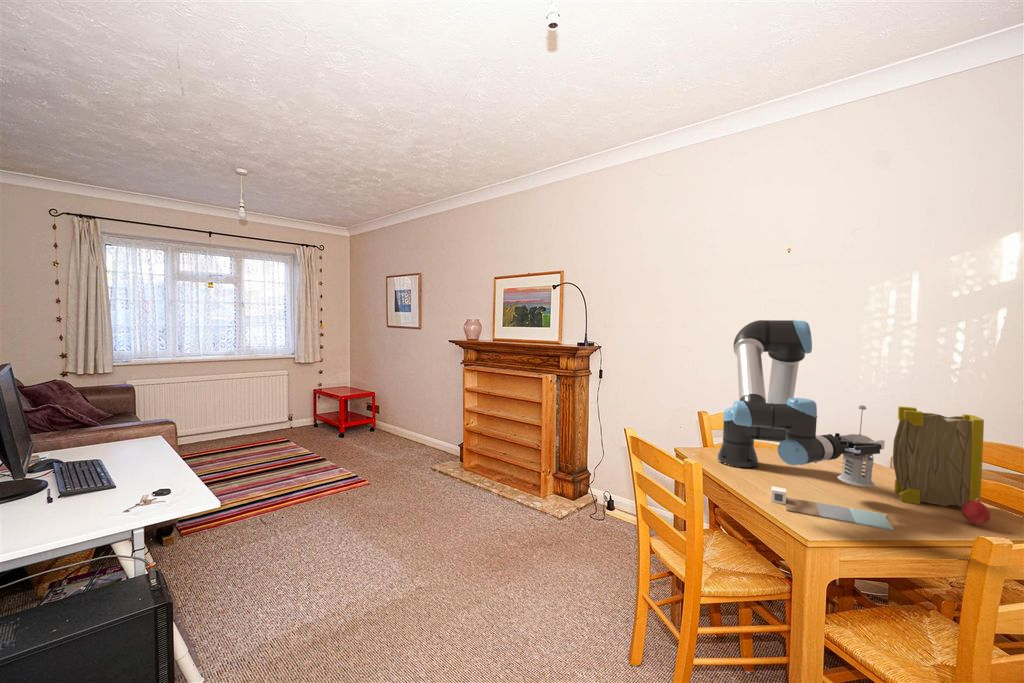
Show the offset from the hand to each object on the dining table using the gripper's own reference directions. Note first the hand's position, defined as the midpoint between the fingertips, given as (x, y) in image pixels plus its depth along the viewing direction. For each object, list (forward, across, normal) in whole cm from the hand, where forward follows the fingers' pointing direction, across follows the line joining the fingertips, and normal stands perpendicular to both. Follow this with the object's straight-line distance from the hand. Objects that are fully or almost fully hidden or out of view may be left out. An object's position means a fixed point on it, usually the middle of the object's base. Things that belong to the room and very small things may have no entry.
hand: (868, 441), depth 146 cm
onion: (+9, +23, -20) cm, 32 cm away
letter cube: (-28, -10, -20) cm, 36 cm away
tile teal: (-15, +10, -20) cm, 27 cm away
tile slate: (-20, +3, -20) cm, 28 cm away
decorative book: (+20, +9, -20) cm, 29 cm away
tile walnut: (-26, -4, -20) cm, 32 cm away
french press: (-5, 0, -13) cm, 14 cm away
